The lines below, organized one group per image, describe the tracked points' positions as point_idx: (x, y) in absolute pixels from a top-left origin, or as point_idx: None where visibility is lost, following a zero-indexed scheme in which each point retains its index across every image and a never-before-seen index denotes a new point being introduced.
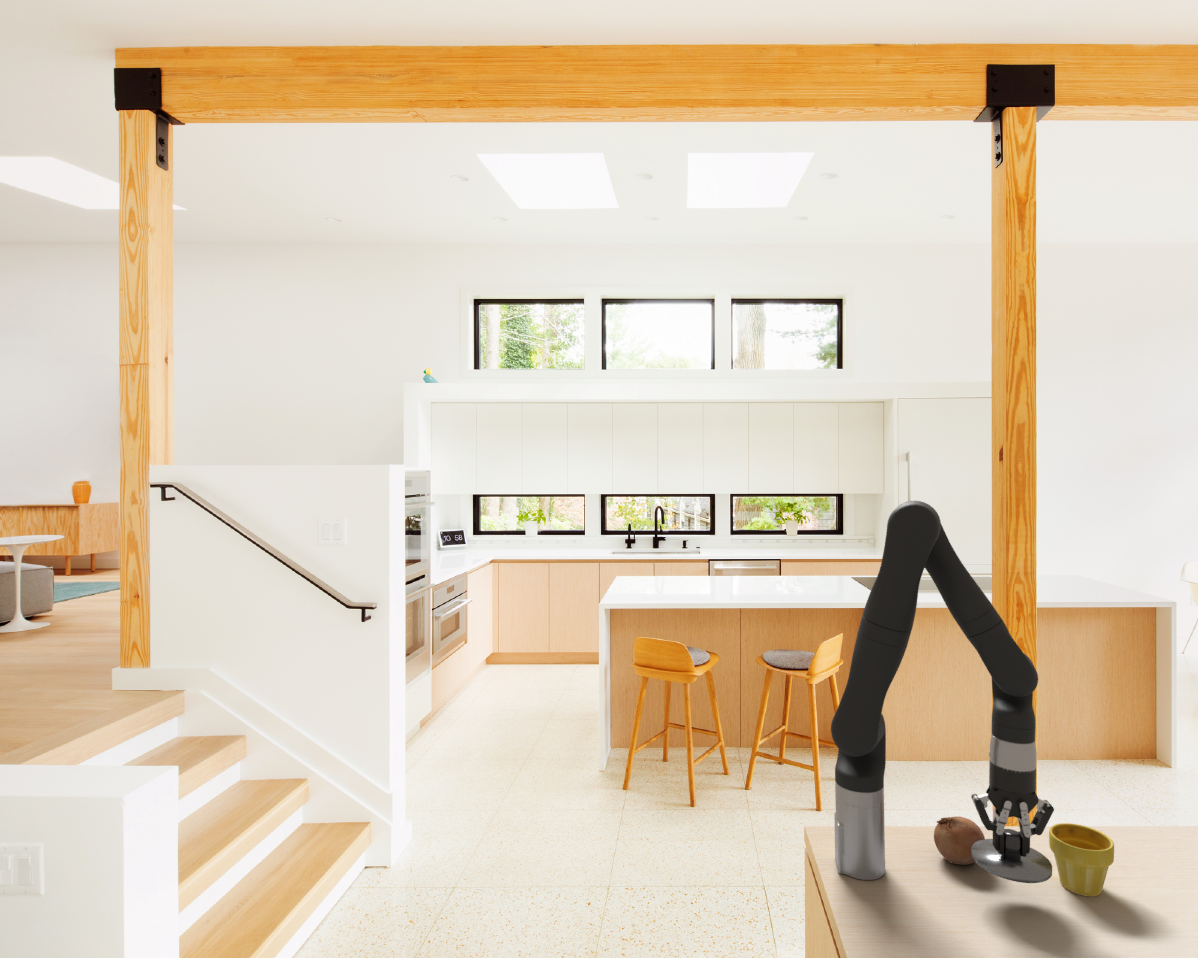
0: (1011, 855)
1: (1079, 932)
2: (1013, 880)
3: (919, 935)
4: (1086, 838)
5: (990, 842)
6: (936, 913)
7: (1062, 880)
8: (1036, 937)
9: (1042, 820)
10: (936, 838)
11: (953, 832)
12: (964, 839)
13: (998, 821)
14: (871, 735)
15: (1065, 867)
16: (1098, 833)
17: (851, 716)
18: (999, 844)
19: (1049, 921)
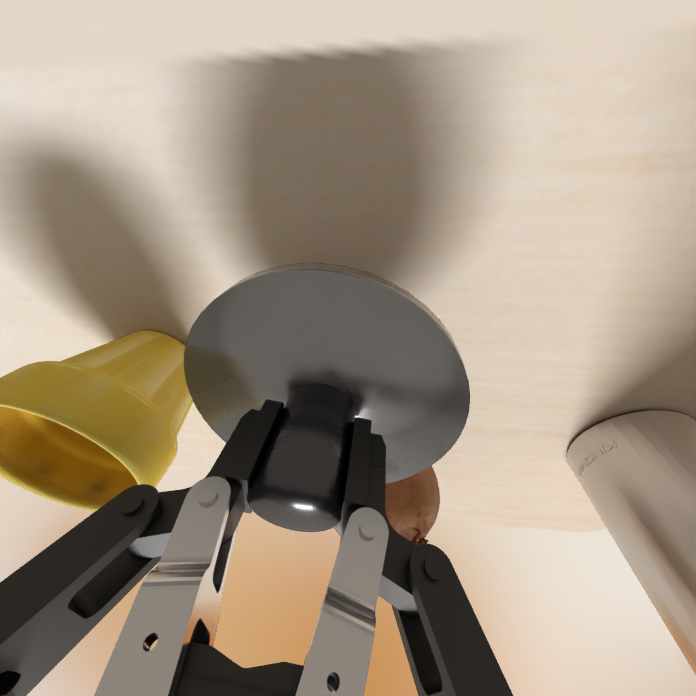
0: (329, 404)
1: (213, 168)
2: (384, 280)
3: None
4: (73, 462)
5: None
6: (605, 272)
7: None
8: (361, 132)
9: (25, 606)
10: (439, 498)
11: (415, 513)
12: (394, 490)
13: (373, 619)
14: None
15: (164, 387)
16: (12, 471)
17: None
18: (368, 456)
19: (282, 228)
